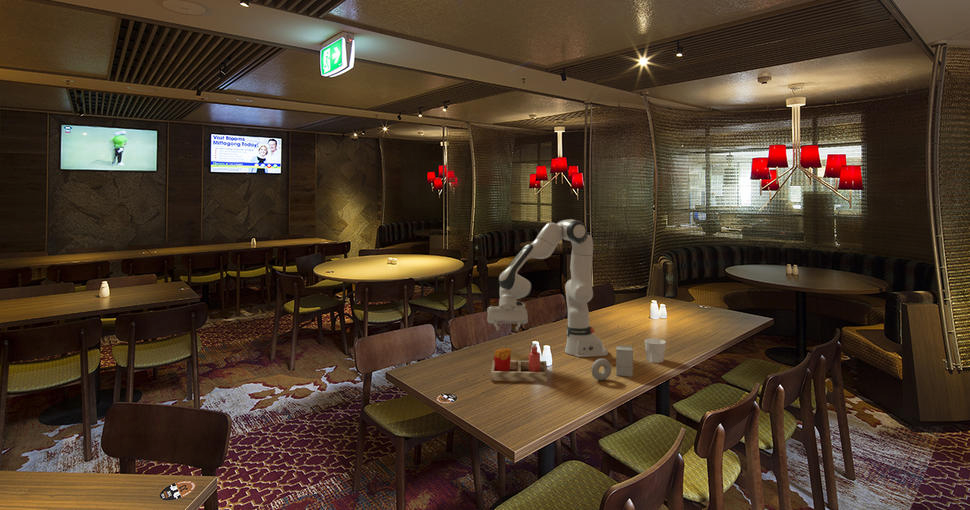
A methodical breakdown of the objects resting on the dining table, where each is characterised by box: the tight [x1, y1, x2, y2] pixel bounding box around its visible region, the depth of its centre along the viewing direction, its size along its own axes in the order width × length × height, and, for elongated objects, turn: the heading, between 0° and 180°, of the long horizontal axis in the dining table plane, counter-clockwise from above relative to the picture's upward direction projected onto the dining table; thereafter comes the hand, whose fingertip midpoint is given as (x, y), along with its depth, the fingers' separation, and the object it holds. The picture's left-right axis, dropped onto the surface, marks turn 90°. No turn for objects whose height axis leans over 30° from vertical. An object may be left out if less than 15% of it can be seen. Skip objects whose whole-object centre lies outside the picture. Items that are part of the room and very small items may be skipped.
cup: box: [644, 337, 667, 364], centre depth 239 cm, size 10×10×10 cm
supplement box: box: [615, 344, 634, 378], centre depth 221 cm, size 7×7×13 cm
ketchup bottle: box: [528, 343, 541, 372], centre depth 218 cm, size 5×5×15 cm
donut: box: [590, 358, 612, 381], centre depth 213 cm, size 10×3×10 cm, turn 109°
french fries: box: [493, 347, 512, 371], centre depth 222 cm, size 8×4×12 cm, turn 115°
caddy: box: [490, 359, 549, 383], centre depth 221 cm, size 26×16×4 cm, turn 85°
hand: (507, 330), depth 232 cm, fingers open, 8 cm apart
